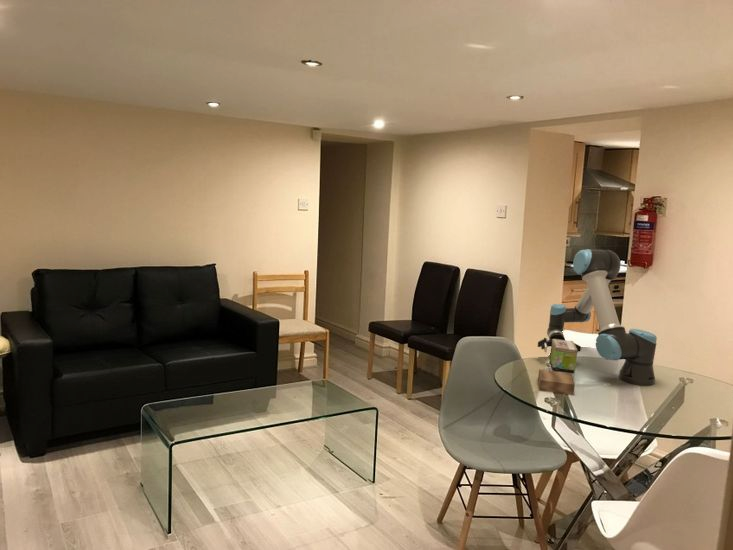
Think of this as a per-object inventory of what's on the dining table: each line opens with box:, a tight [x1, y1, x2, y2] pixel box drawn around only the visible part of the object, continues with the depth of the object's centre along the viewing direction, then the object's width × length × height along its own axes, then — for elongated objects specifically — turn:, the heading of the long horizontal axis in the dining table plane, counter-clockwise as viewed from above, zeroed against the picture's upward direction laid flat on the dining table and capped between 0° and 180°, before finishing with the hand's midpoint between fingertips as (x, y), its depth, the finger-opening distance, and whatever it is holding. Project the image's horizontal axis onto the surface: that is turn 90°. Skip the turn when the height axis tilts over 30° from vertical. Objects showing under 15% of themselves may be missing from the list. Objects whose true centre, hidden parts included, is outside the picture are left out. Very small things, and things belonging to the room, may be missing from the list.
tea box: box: [548, 339, 578, 380], centre depth 273 cm, size 15×10×15 cm
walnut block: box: [537, 369, 576, 396], centre depth 258 cm, size 14×14×5 cm
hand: (560, 351), depth 282 cm, fingers open, 13 cm apart
